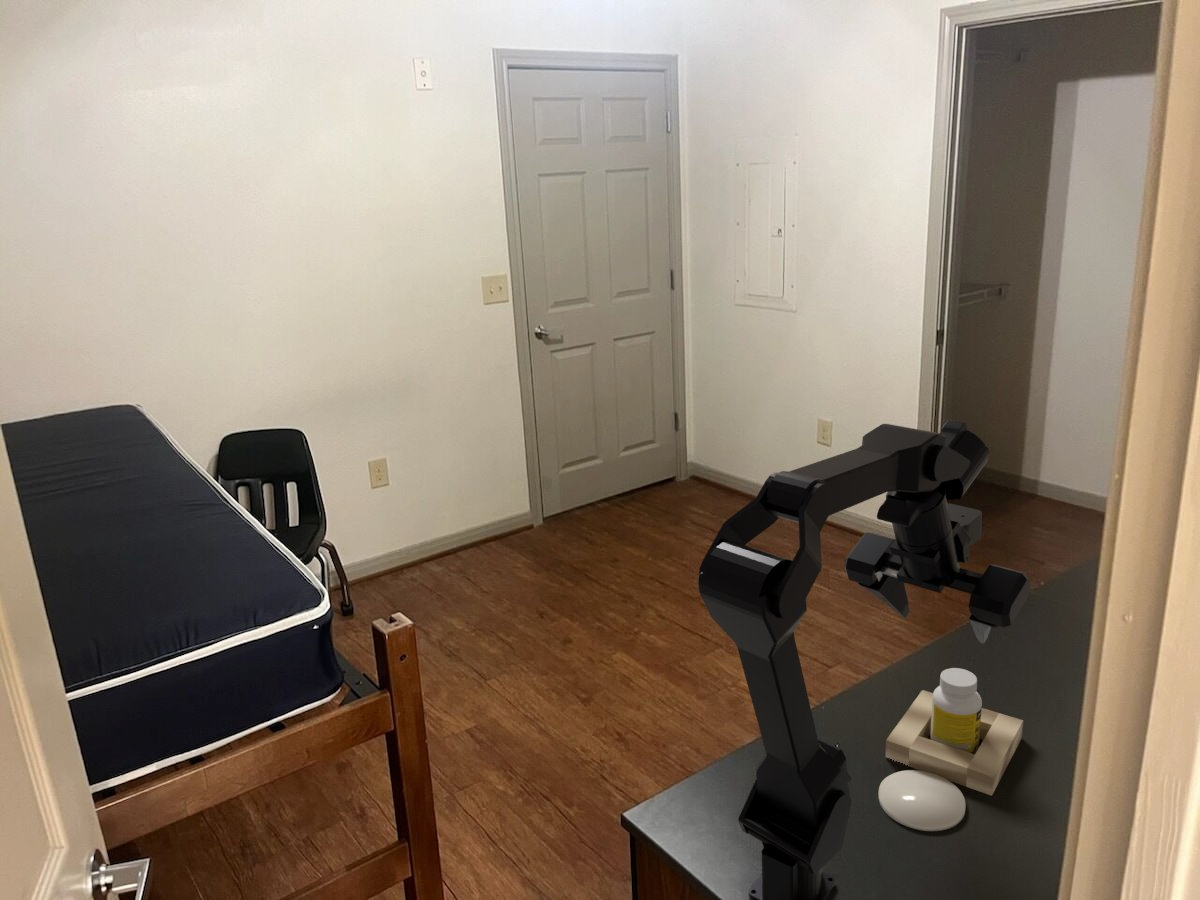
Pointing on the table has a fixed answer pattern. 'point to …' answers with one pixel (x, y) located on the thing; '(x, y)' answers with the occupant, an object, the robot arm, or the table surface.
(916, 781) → the ceramic coaster
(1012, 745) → the frame
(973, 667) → the table surface
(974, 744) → the supplement bottle
